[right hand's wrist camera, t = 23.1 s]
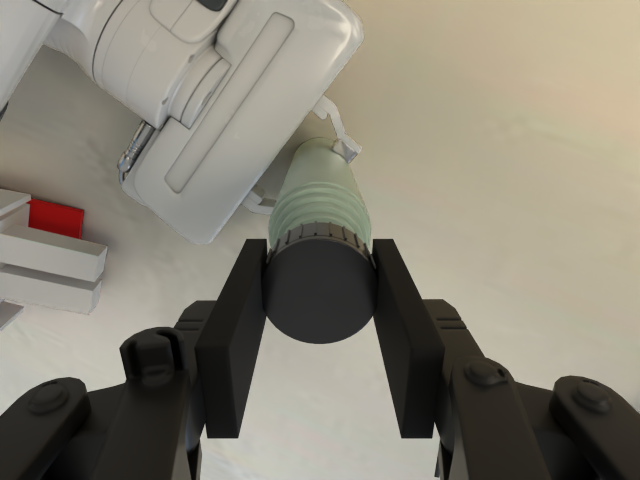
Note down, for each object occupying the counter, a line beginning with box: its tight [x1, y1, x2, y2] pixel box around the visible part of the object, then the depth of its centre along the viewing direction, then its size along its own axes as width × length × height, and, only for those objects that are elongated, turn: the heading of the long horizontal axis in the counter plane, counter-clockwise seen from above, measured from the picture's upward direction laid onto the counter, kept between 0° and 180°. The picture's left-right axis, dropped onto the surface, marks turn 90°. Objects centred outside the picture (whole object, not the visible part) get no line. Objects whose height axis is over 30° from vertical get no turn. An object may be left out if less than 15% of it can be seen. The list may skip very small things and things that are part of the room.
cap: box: [261, 221, 379, 344], centre depth 14 cm, size 4×4×2 cm
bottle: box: [269, 138, 371, 248], centre depth 25 cm, size 5×5×23 cm
